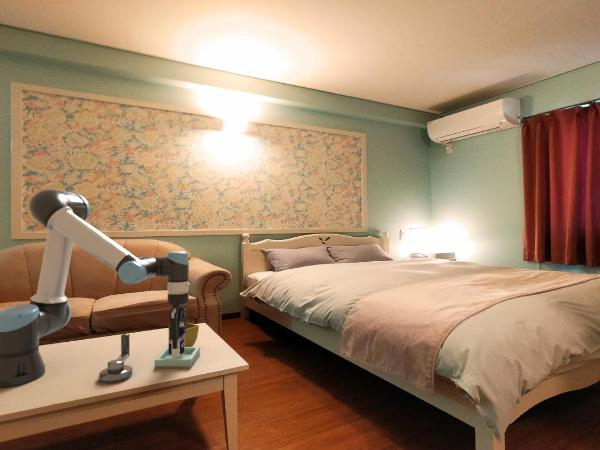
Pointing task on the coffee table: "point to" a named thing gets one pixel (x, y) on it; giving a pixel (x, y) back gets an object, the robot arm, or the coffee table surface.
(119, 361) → the crank
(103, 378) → the crank base
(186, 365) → the tray
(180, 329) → the beverage can
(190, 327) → the flower pot
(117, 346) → the coffee table surface
